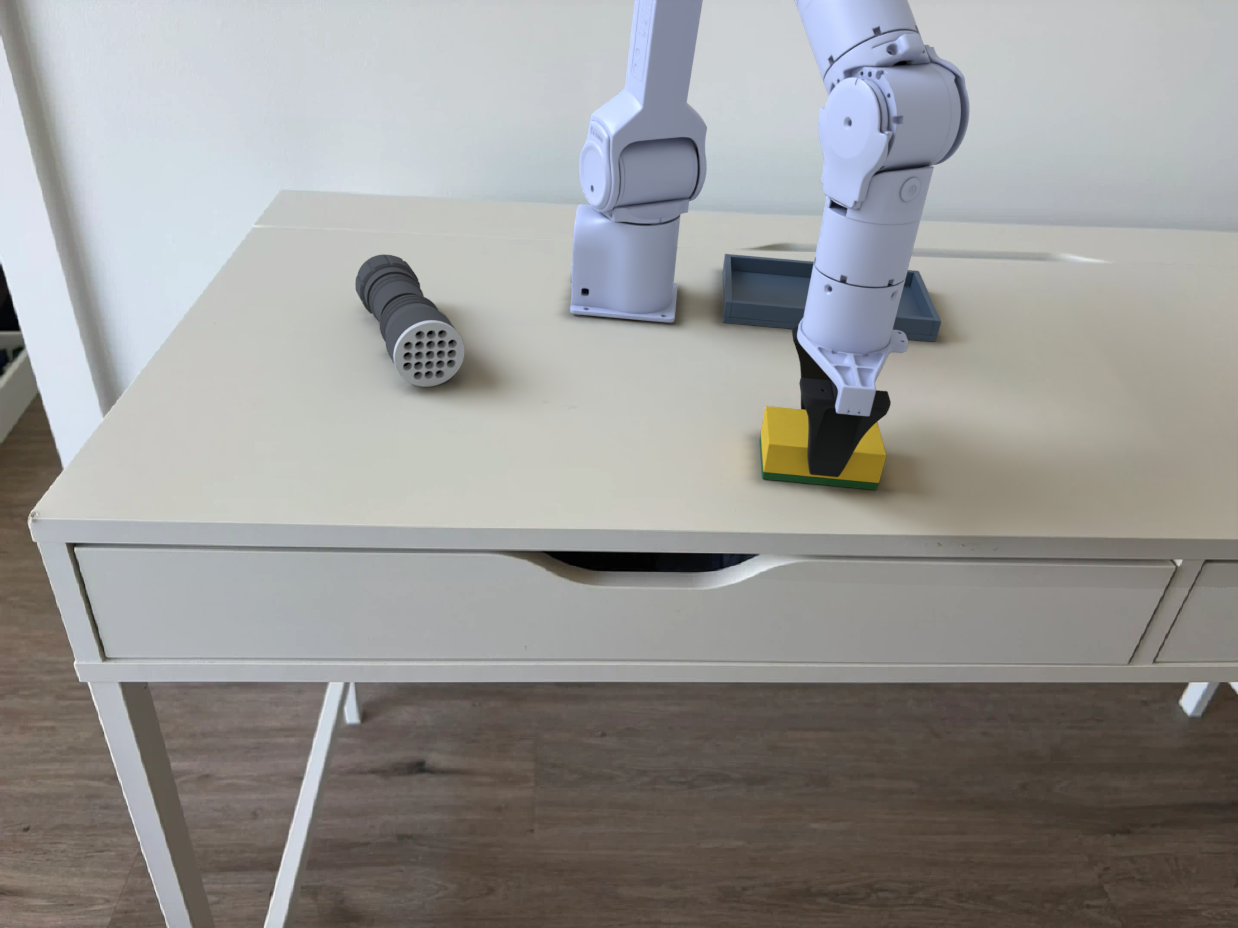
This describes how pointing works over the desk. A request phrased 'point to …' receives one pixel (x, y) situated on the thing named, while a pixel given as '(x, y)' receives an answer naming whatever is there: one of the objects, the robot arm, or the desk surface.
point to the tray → (782, 289)
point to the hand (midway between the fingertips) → (819, 448)
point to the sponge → (790, 445)
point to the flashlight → (409, 322)
